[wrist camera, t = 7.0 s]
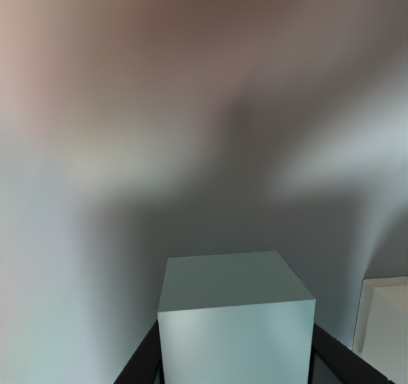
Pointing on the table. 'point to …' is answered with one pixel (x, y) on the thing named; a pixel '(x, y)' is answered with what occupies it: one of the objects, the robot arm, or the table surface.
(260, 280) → the lid
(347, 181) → the table surface
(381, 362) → the tub
